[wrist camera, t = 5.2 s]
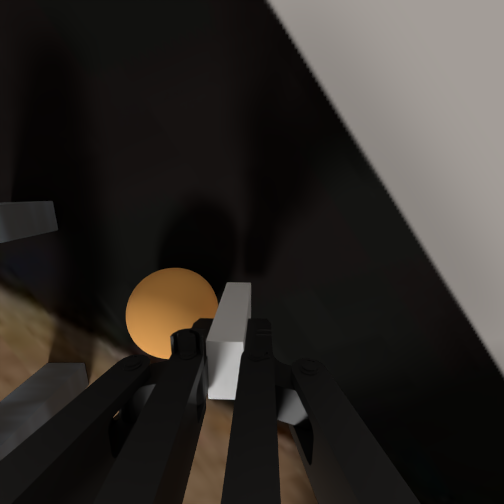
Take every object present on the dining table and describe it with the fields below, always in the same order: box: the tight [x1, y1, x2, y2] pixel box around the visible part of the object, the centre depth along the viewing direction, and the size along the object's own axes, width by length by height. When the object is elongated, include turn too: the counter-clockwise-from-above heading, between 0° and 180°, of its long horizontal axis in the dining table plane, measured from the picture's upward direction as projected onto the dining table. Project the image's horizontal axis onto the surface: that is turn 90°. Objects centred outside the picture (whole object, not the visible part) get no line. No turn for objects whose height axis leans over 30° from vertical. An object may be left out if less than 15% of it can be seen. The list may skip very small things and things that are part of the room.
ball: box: [126, 268, 218, 359], centre depth 17 cm, size 6×6×6 cm
